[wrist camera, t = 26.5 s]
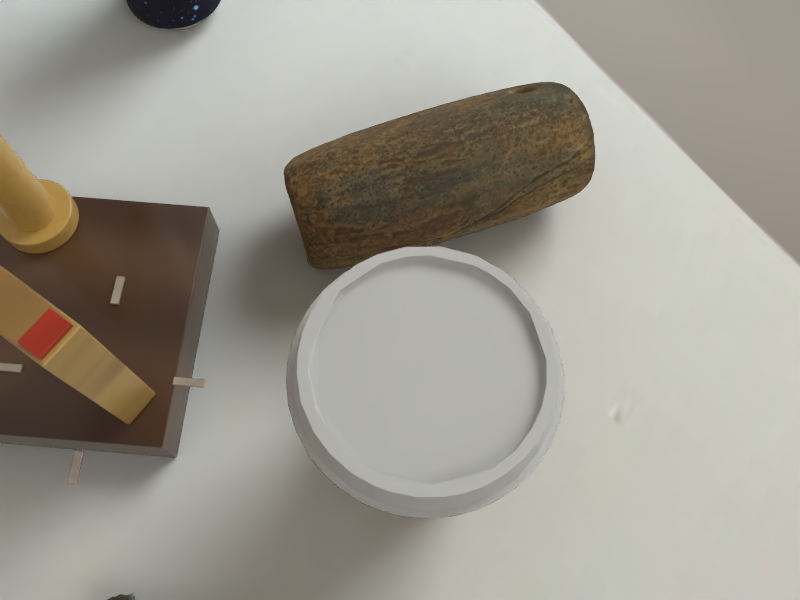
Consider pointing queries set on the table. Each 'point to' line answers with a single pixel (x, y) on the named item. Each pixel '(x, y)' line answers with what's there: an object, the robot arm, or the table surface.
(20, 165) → the tap spout
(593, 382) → the table surface
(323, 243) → the brown cylindrical piece
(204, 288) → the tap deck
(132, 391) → the tap handle
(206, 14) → the beverage can
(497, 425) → the disposable coffee cup
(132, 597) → the bird figurine
